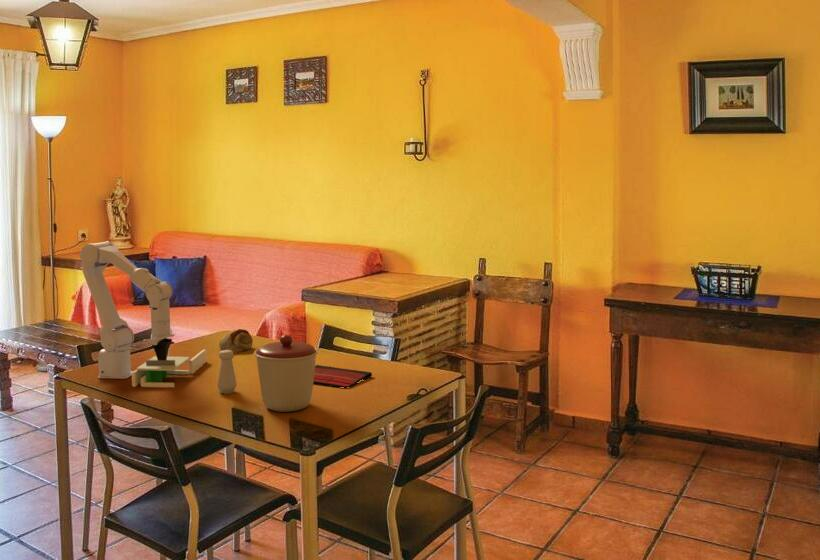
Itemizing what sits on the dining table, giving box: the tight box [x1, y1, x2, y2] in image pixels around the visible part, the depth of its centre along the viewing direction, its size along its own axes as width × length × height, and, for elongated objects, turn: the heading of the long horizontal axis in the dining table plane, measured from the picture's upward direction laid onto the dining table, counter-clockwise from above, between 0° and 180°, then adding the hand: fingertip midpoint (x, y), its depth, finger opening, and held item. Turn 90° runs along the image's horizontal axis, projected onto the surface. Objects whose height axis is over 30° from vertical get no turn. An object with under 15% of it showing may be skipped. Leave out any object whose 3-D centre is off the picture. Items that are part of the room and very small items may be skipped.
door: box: [135, 355, 191, 371], centre depth 252 cm, size 12×16×2 cm
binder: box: [313, 364, 373, 388], centre depth 255 cm, size 16×2×21 cm
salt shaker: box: [217, 350, 237, 395], centre depth 238 cm, size 6×6×13 cm
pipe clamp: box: [146, 370, 168, 383], centre depth 252 cm, size 11×4×5 cm, turn 178°
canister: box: [253, 334, 319, 413], centre depth 224 cm, size 18×18×21 cm
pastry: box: [219, 328, 254, 354], centre depth 295 cm, size 14×12×8 cm
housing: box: [131, 349, 207, 388], centre depth 259 cm, size 14×32×4 cm, turn 178°
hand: (162, 362), depth 251 cm, fingers closed
